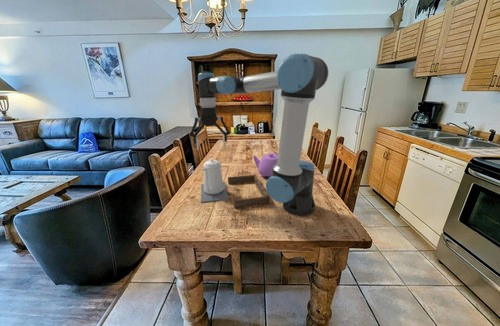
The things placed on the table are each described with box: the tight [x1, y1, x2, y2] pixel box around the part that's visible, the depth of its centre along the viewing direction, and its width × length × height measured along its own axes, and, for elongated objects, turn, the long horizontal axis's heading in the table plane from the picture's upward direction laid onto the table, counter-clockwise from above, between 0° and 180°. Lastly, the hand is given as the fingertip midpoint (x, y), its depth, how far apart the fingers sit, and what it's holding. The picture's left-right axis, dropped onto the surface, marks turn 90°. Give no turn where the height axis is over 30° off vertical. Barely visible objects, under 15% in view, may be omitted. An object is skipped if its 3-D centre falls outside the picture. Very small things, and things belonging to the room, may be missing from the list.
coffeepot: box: [201, 157, 224, 194], centre depth 118 cm, size 11×25×19 cm, turn 168°
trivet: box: [200, 181, 229, 204], centre depth 121 cm, size 22×14×1 cm, turn 12°
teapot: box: [252, 152, 278, 179], centre depth 143 cm, size 20×20×15 cm
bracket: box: [227, 174, 271, 209], centre depth 119 cm, size 30×17×4 cm, turn 12°
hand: (211, 148), depth 114 cm, fingers open, 13 cm apart
